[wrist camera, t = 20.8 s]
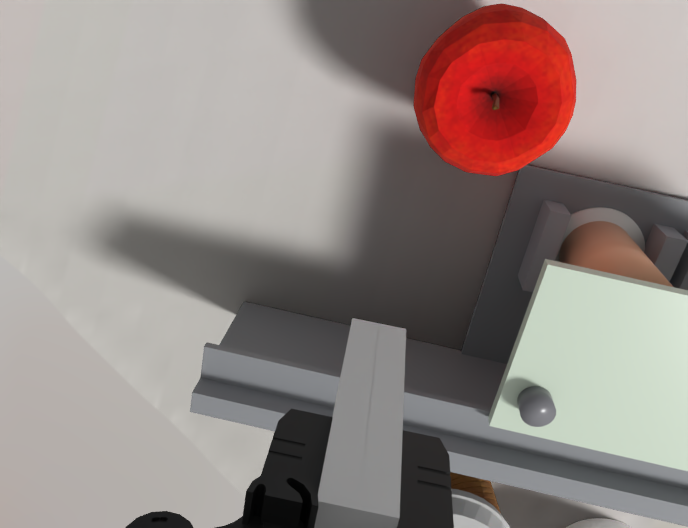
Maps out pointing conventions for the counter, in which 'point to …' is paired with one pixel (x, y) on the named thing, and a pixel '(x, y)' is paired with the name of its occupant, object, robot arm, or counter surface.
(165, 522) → the robot arm
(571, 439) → the lid
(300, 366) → the housing
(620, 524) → the cup
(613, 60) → the counter surface
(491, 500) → the disposable coffee cup
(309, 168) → the counter surface
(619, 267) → the peg
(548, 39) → the apple
